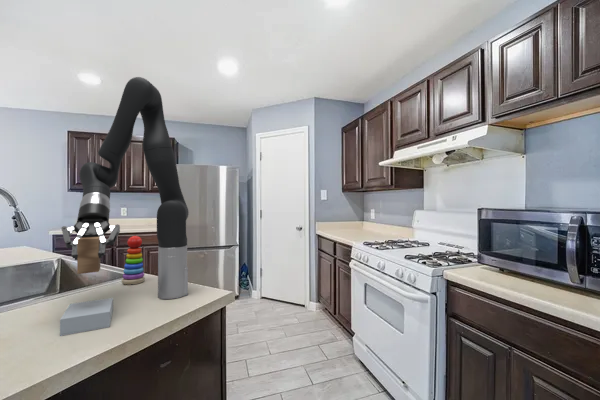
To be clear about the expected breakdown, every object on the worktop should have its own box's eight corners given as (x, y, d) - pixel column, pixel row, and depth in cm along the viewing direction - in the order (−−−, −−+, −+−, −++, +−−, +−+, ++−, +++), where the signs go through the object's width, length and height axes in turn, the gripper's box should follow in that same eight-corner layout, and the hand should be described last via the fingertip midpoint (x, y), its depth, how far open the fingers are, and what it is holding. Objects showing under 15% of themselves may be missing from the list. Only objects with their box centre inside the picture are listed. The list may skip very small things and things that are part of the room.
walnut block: (100, 268, 79) (100, 236, 79) (98, 271, 75) (98, 238, 75) (80, 270, 77) (80, 237, 77) (77, 274, 73) (77, 239, 73)
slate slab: (112, 311, 83) (113, 297, 83) (109, 326, 73) (109, 311, 73) (70, 317, 78) (70, 303, 78) (59, 335, 68) (60, 319, 68)
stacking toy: (119, 286, 107) (120, 237, 107) (123, 280, 115) (124, 235, 115) (143, 284, 110) (143, 236, 111) (145, 278, 118) (146, 234, 118)
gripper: (62, 202, 79) (50, 251, 69) (122, 201, 86) (119, 246, 76) (66, 219, 84) (56, 268, 73) (122, 218, 91) (120, 262, 80)
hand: (88, 257), depth 74 cm, fingers closed on walnut block, 4 cm apart
